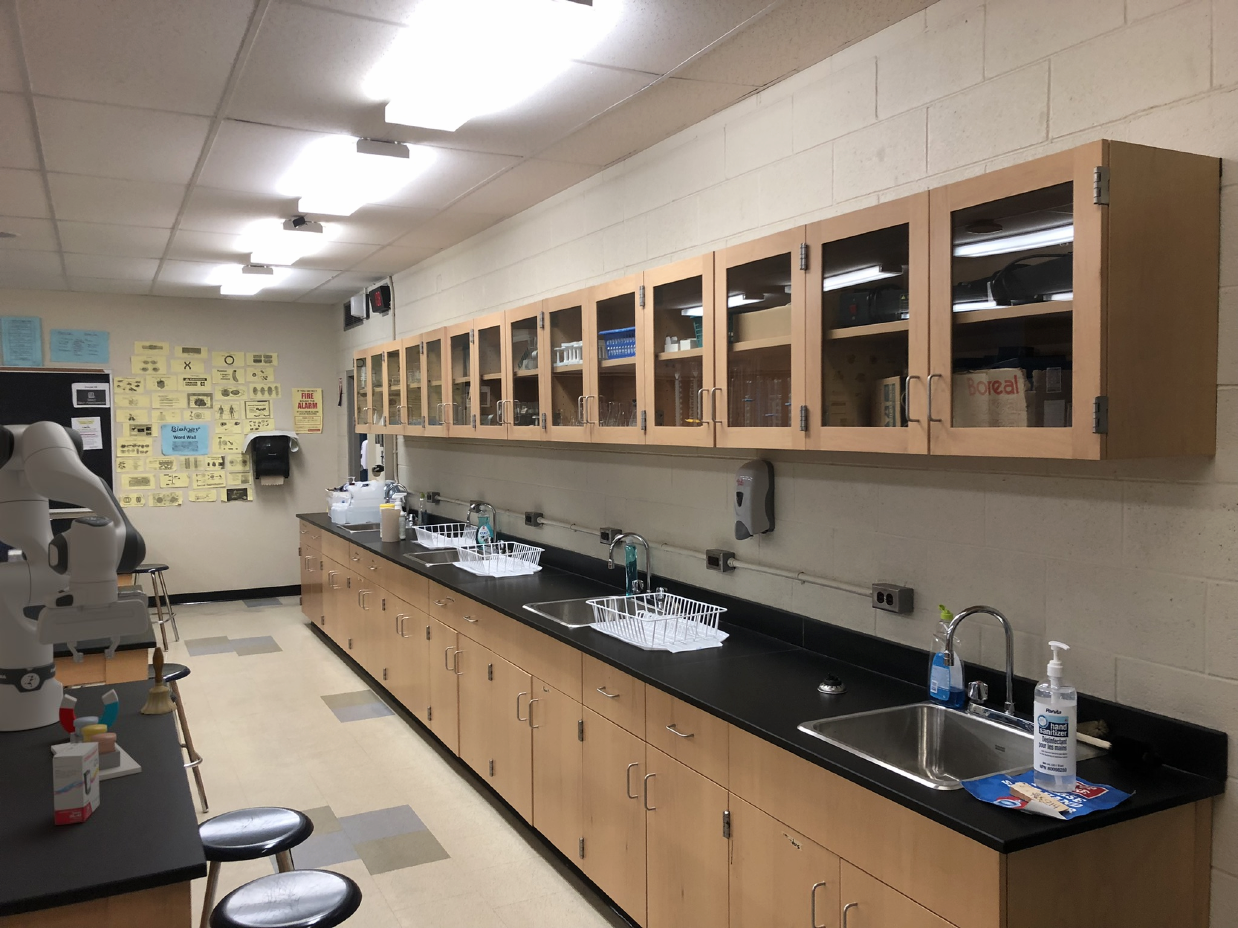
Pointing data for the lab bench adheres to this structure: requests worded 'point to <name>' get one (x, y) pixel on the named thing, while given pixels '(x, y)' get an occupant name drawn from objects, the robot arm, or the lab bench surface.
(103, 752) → the terracotta button
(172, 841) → the lab bench surface
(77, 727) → the slate button
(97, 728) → the ochre button
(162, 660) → the hand bell
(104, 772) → the console
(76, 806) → the ink box
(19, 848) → the lab bench surface
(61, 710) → the magnet
